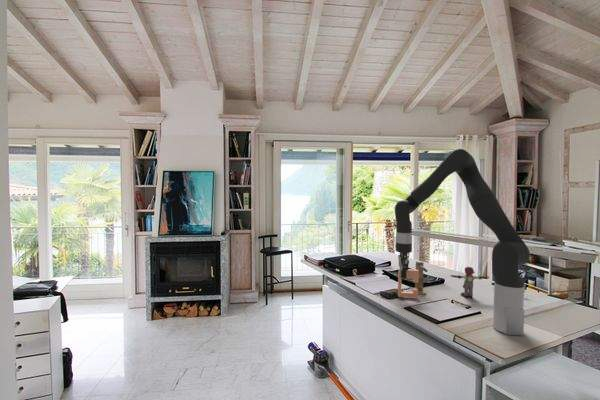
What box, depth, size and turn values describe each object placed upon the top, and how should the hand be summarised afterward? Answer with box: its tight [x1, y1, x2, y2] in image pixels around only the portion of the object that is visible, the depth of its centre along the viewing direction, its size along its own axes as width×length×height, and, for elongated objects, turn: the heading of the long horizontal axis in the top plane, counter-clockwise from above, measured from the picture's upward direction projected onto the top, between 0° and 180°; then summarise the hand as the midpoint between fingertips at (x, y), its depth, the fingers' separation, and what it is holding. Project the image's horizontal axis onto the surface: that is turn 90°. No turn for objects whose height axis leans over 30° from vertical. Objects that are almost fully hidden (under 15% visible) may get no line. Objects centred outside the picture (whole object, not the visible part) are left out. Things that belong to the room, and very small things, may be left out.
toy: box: [450, 266, 490, 299], centre depth 151 cm, size 18×6×15 cm, turn 84°
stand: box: [411, 260, 428, 296], centre depth 153 cm, size 16×5×16 cm, turn 173°
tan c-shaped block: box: [397, 268, 419, 299], centre depth 149 cm, size 2×9×13 cm, turn 83°
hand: (403, 277), depth 149 cm, fingers closed
